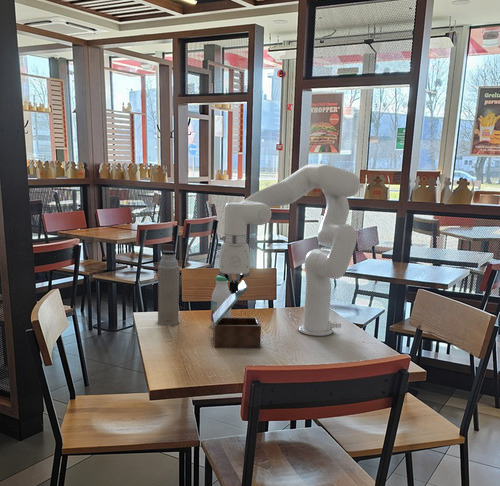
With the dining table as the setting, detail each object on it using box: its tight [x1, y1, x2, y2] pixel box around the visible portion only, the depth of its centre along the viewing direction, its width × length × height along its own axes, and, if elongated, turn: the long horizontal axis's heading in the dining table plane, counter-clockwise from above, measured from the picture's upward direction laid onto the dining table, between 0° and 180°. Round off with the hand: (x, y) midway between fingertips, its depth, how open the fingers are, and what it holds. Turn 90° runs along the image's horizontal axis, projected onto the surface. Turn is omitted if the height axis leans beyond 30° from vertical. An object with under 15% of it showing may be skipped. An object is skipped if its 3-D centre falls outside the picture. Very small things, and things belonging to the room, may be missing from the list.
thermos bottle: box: [157, 250, 180, 327], centre depth 220 cm, size 8×8×28 cm
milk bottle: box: [210, 275, 232, 329], centre depth 218 cm, size 8×8×20 cm
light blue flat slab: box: [213, 279, 249, 325], centre depth 197 cm, size 16×11×1 cm
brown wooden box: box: [212, 316, 262, 349], centre depth 200 cm, size 16×11×8 cm
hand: (233, 292), depth 197 cm, fingers closed
